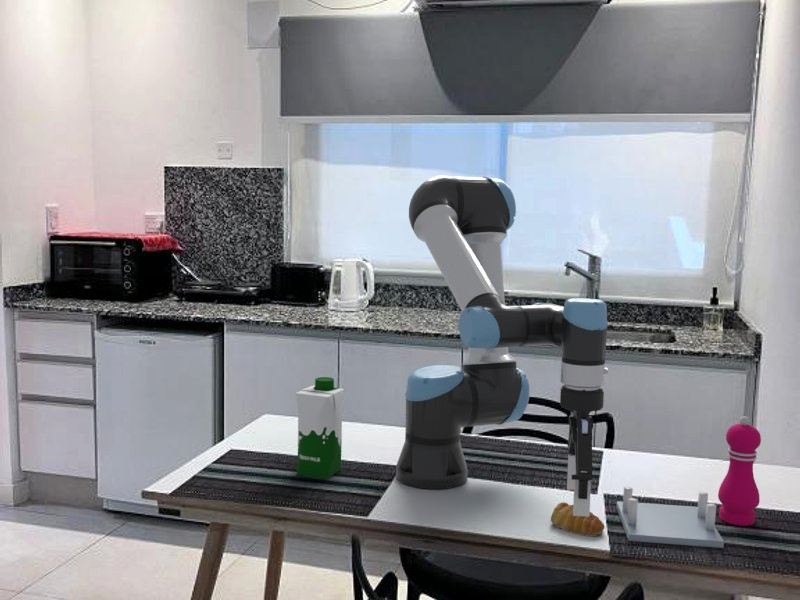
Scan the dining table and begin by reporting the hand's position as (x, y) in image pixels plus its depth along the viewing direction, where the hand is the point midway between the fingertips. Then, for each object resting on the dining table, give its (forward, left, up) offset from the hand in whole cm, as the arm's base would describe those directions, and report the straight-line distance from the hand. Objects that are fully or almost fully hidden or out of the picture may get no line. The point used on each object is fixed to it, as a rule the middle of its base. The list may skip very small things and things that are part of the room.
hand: (577, 502), depth 147 cm
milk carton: (-52, +20, -5) cm, 56 cm away
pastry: (0, +1, -6) cm, 6 cm away
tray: (+17, +4, -5) cm, 18 cm away
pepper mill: (+31, +10, -5) cm, 33 cm away
